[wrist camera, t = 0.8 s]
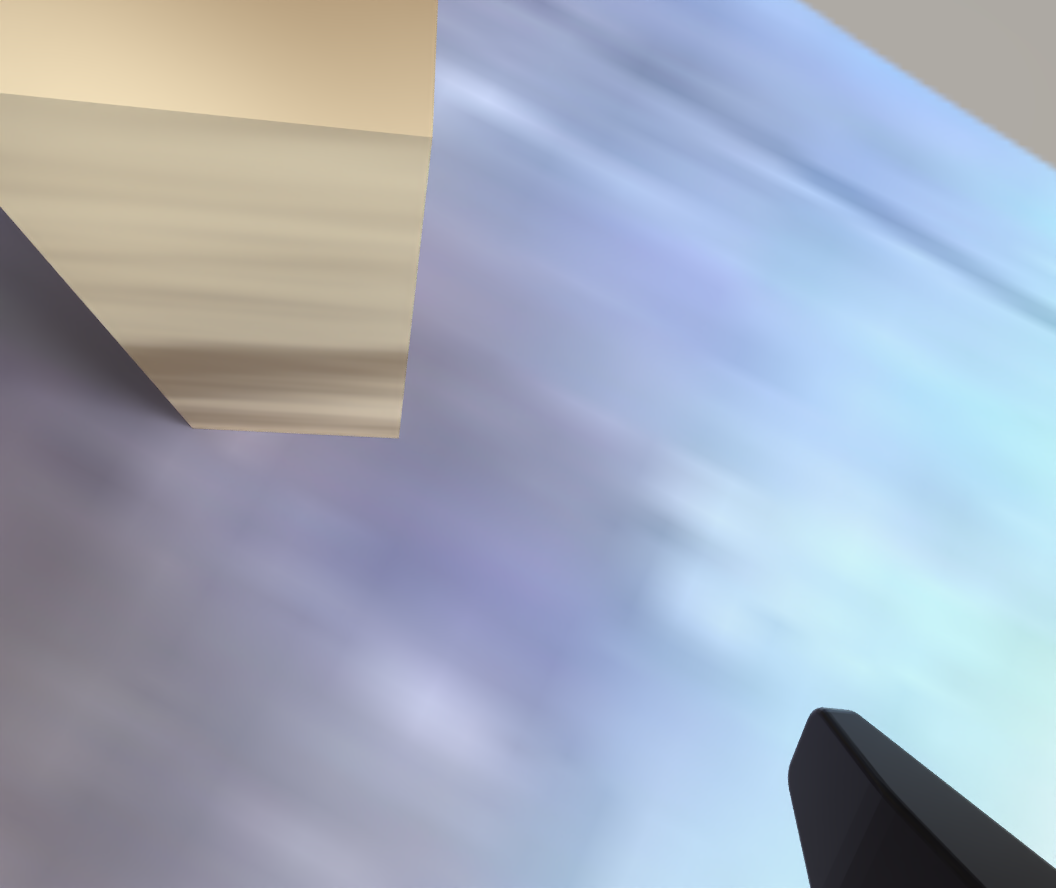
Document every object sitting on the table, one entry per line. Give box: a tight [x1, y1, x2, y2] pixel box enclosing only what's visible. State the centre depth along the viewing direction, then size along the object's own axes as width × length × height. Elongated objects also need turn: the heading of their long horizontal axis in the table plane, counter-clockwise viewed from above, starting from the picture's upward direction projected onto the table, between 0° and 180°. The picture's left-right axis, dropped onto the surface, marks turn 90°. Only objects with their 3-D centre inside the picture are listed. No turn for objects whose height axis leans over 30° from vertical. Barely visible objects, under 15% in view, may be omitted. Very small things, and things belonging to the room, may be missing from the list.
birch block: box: [0, 0, 438, 438], centre depth 16 cm, size 5×5×14 cm
